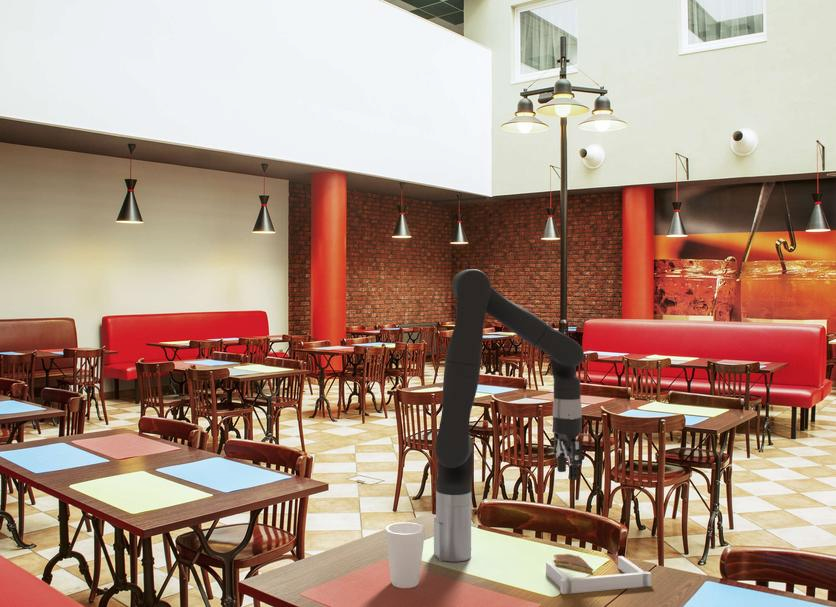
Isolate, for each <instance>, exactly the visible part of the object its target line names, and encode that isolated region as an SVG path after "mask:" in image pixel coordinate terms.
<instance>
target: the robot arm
mask: <svg viewBox="0 0 836 607" xmlns="http://www.w3.org/2000/svg"><path fill="white" fill-rule="evenodd" d="M451 291H452V294H453V295H454V297H455V298H456V315H455V321H454V322H455V323H454V327H453V330H452V332H451V337H450V340H449V343H448V346H447V350H446V353H445V360H444V371H443V382H442V384H443V385H442V408H441V416H440V422H439V427H438V431H437V435H436V439H435V443H434V453H435V454H434V455H435V457H436V459H437V476H436V482H435V499H436V500H435V501H436V502H435V517H434V518H433V554H434V556H435V557H436V558H437V559H438V561H439V562H443V561H444V562H451V563H452V562H453V563H454V562H455V563H456V562H457V563H458V562H464V561H468V560H469V559H471V557H472V481H473V468H474V467H473V465H474V464H473V463H474V462H473V461H474V460H473V459H474V458H473V457H474V456H473V455H474V450H473V449H474V447H473V445H474V444H473V440H472V437H471V435H470V432H469V431H470V421H471V420H470V419H471V418H470V417H471V413H472V409H473V406H474V405H473V404H474V403H475V398H476V395H477V390H478V386H479V380H480V374H481V373H480V372H481V364H482V353H483V341H484V338H483V335H484V324H485V318H486V315H488V316H490V317H492V318H493V319H495V320H496V321H498V322H499V323H501V324H502V325H503V326H504V327H506V328H507V329H509V331H511V332H513V333H514V334H515V335H516V336H518V337H519V338H521V339H522V340H524V341H525V342H527V343H528V344H529V345H531V346H532V347H534V348H536V349H538V350H540V351H543V352H544V353H546V354H548V355H549V356H550V357H549V359H550V366H551V367H550V368H551V372H552V378H553V401H552V402H553V403H552V431H553V454H554V455H555V457H556V458H557V459H556V460H557V461H556V462H557V463H556V465H557V467H556V470H557V472H559V473H564V472H565V473H566V471H567V463H568V478H569V480H571V481H577V480H578V479H579V466H580V465H581V466H582V465H583V451H582V449H583V447H582V441H581V440H577V437H576V436H577V435H580V434H581V433H582V431H583V429H582V428H583V427H582V426H583V425H582V423H583V422H582V420H583V417H582V413H583V412H582V409H583V408H582V401H581V399H582V398H581V396H582V395H581V380H580V378H579V376H578V375H577V371H576V370H577V369H576V367H577V366H579V365H581V364H582V362H583V360H584V358H585V352H584V349H583V347H582V346H581V345H580V343H579V342H577V341H576V340H574V339H572V338H571V337H569V336H567V335H566V334H564V333H563V332H561V331H558V330H557V329H555V328H554V327H552V326H551V325H550V324H548V323H547V322H546V321H544V320H543V319H541V318H540V317H538V316H537V315H535V314H534V313H532V312H531V311H529V310H527V309H526V308H524V307H522V306H521V305H519V304H517V303H515V302H513V301H512V300H509V299H508V298H506V297H505V296H504V295H502V294H500V293H499V292H498V291H497V290H495V289H494V288H493V287H492V285H491V281H490V279H489V277H488V275H487V274H486V273H485V272H484V271H482V270H479V269H476V268H475V269H474V268H470V269H469V268H468V269H463V270H461V271H460V272H458V273H456V275H455V276H454V277H453V279H452V282H451ZM567 461H568V462H567Z"/></svg>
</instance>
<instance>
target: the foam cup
mask: <svg viewBox="0 0 836 607" xmlns="http://www.w3.org/2000/svg"><path fill="white" fill-rule="evenodd" d="M384 532H385V533H384V534H385V535H384V536H385V541H386V549H387V557H388V565H389V571H390V579H391V580H390V581H391V584H392V586H393V587H396V588H400V589H410V588H415V587H416V586H418V585H419V582H420V574H421V567H422V566H421V565H422V558H423V551H424V543H425V542H424V541H425V540H426V527H425V526H424V525H423V524H421V523H416V522H408V521H407V522H405V521H403V522H395V523H391V524H389V525H386V526H385V531H384Z"/></svg>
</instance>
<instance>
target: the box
mask: <svg viewBox="0 0 836 607" xmlns="http://www.w3.org/2000/svg"><path fill="white" fill-rule="evenodd" d="M617 569H618V570H620V571H621V572H622V573H618V574H617V573H615V574H604V575H593V576H583V577H571V578H570V577H569V576H567V575H566V574H565V573H564V572H563V571H562V570H561V569H559V568H558V566H556V565H555V563H552V561H546V562H545V575H546V576H547V577H548V578H549V579H550V580H551V581H553V583H555V584H556V585H557V586H558V587H559V589H560V593H561V594H562V595H567V594H569V595H570V594H577V593H578V594H580V593H581V594H582V593H590V592H591V593H592V592H603V591H611V590H622V589H637V588H644V587H645V588H646V587H647V588H648V587H652V572H650V571H645V570H643V569H641V568H640V567H638V566H637V565H636V564H634V563H633V562H631V561H630V560H629V559H628V558H626V557H624V556H623V555H618V556H617Z"/></svg>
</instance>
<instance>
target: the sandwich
mask: <svg viewBox="0 0 836 607" xmlns="http://www.w3.org/2000/svg"><path fill="white" fill-rule="evenodd" d="M553 558H554V559H555V561H554V565H555V566H556V567H564V568H567V569H571V570H575V571H579V572H585V573H589V574H592V573H593V571H594V569H593V568H592V567H590V565H589V564H588V563H587V561H585V560H584V559H583V558H582V557H580V556H579V555H575V554H572V553H563V554H560V553H559V554H553Z"/></svg>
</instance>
